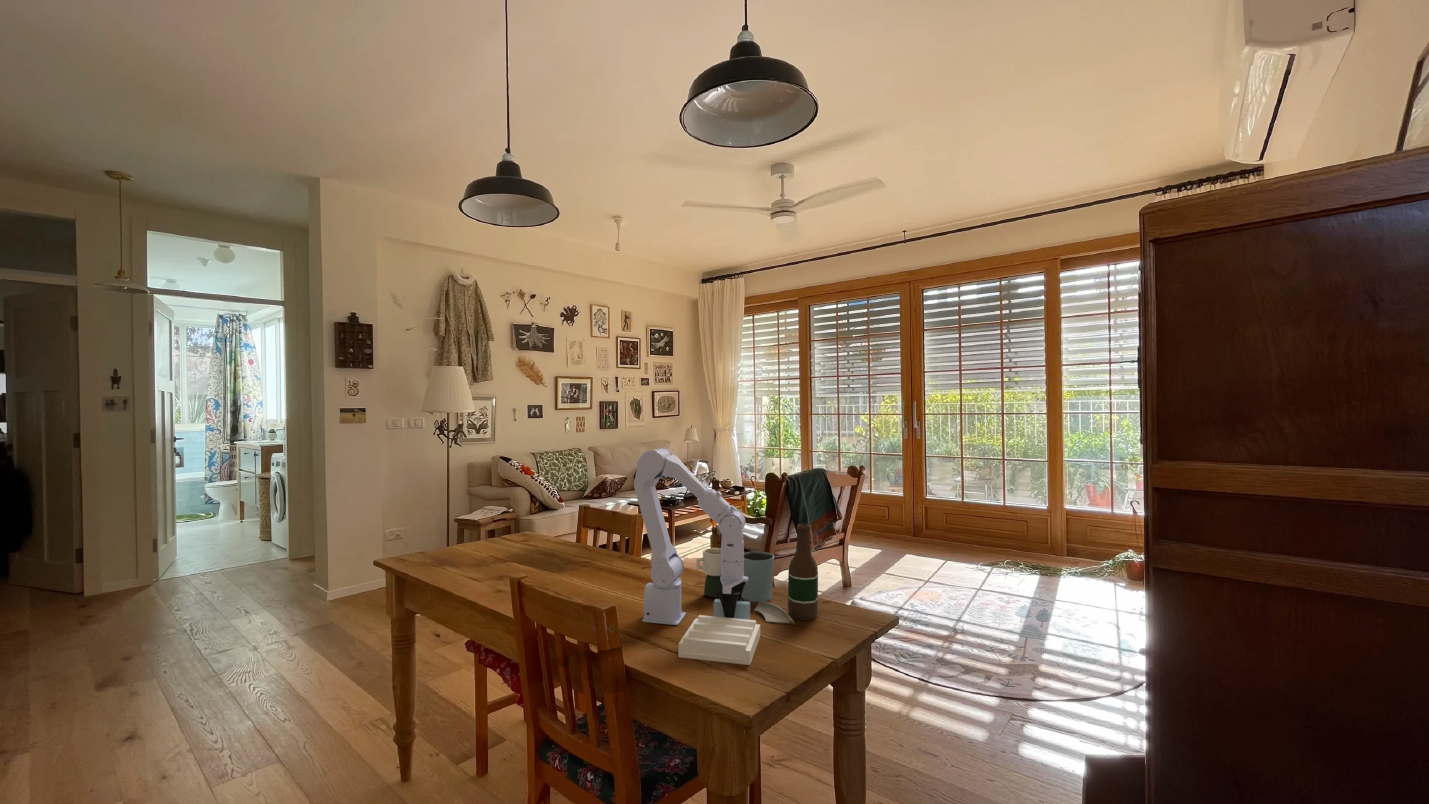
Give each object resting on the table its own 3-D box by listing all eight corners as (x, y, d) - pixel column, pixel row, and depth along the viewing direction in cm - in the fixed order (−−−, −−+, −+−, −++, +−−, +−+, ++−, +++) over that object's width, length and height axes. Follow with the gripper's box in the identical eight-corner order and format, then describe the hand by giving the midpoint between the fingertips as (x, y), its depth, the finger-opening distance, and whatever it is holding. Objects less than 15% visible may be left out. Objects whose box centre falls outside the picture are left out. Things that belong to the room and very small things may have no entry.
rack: (678, 657, 126) (678, 639, 126) (695, 630, 140) (695, 614, 140) (750, 665, 122) (750, 646, 122) (760, 636, 137) (760, 620, 137)
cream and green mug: (729, 590, 170) (729, 546, 170) (736, 598, 163) (736, 553, 163) (693, 593, 168) (693, 548, 168) (699, 601, 161) (699, 555, 161)
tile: (713, 625, 144) (713, 601, 144) (715, 622, 146) (715, 598, 146) (748, 628, 142) (748, 604, 142) (750, 625, 144) (750, 601, 144)
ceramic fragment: (796, 626, 145) (796, 611, 145) (781, 631, 141) (781, 615, 141) (759, 611, 156) (759, 596, 156) (744, 615, 152) (744, 600, 152)
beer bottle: (804, 623, 146) (805, 529, 145) (781, 614, 151) (782, 524, 151) (823, 615, 151) (824, 525, 151) (801, 607, 157) (801, 520, 156)
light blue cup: (748, 605, 158) (749, 561, 158) (733, 593, 167) (733, 552, 167) (780, 600, 162) (781, 558, 162) (763, 589, 172) (764, 549, 171)
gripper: (743, 568, 136) (742, 625, 136) (752, 552, 150) (752, 604, 150) (714, 566, 138) (714, 622, 138) (726, 551, 152) (726, 602, 152)
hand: (732, 613), depth 144 cm, fingers open, 7 cm apart
